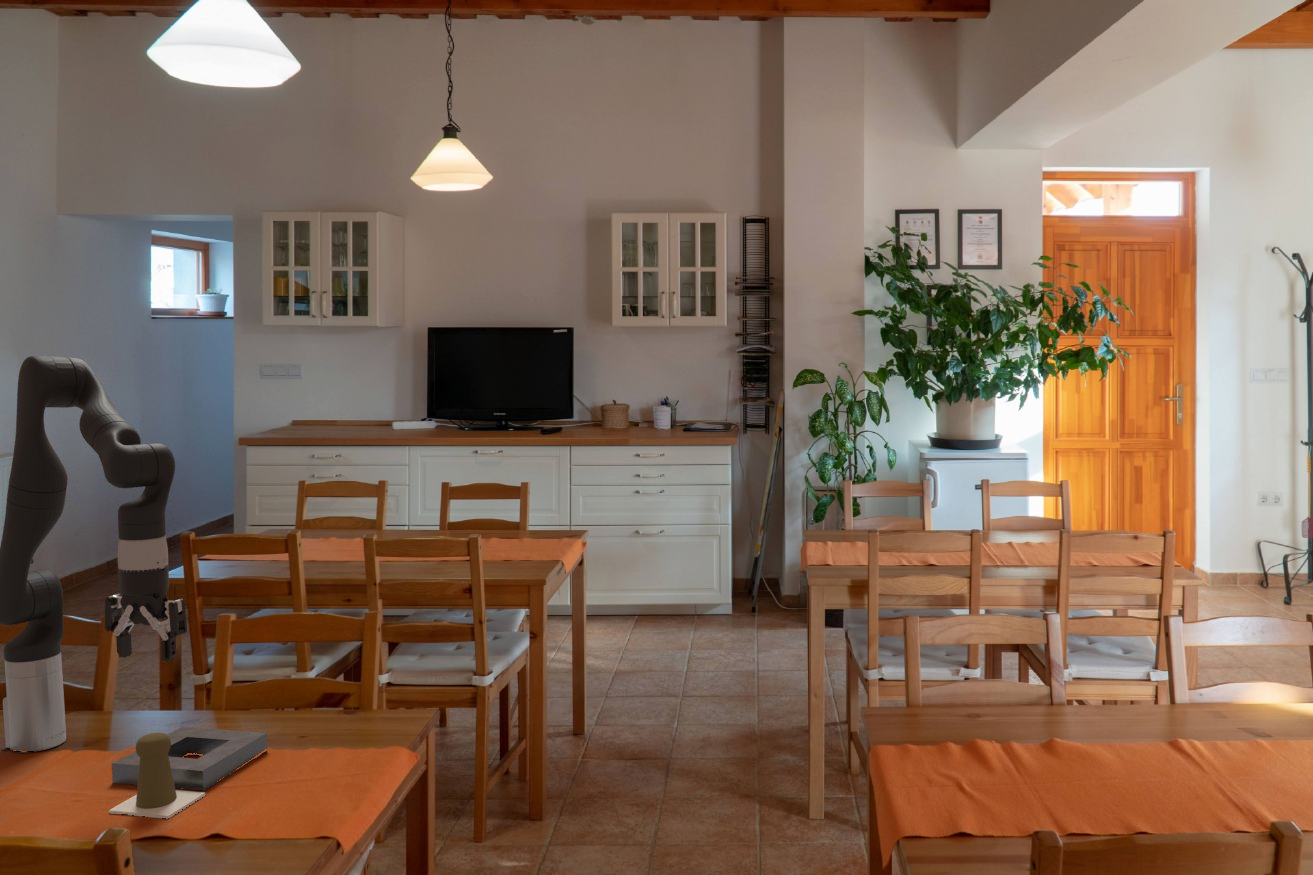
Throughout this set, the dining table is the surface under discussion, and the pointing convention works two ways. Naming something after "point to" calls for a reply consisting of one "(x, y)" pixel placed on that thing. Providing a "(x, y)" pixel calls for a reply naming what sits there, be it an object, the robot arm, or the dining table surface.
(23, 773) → the dining table surface
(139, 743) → the cork
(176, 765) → the frame
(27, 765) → the dining table surface
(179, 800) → the pad
